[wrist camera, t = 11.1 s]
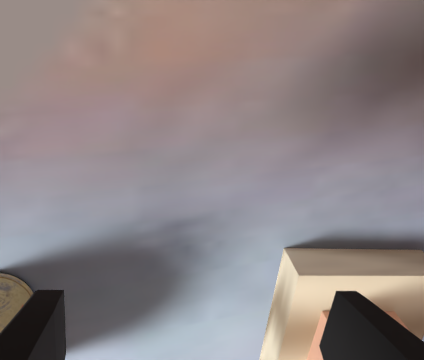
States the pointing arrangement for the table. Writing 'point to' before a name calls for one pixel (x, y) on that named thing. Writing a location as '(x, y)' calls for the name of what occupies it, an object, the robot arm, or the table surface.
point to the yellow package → (11, 297)
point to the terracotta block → (315, 352)
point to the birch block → (339, 281)
